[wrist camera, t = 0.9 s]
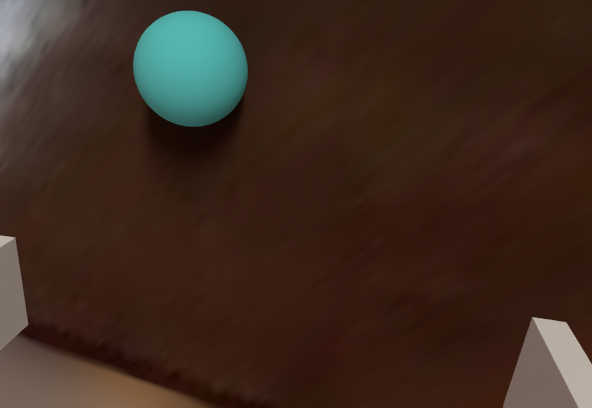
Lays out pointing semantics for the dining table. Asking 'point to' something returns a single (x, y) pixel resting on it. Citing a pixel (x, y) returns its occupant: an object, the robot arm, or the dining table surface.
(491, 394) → the dining table surface
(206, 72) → the ball
